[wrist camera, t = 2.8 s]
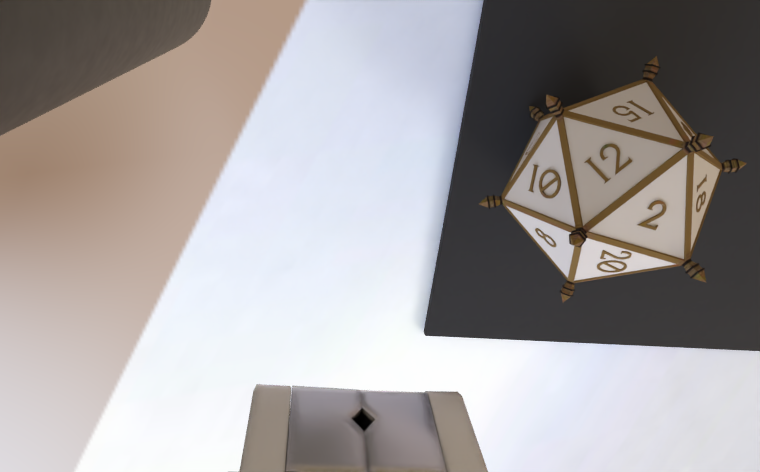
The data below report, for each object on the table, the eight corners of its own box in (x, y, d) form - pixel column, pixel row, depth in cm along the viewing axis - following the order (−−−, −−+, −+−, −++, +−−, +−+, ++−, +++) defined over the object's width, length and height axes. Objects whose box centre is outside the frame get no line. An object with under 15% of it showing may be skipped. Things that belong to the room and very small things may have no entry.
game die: (570, 150, 30) (719, 299, 25) (431, 205, 27) (569, 387, 22) (645, -13, 22) (877, 152, 17) (466, 39, 20) (683, 253, 15)
